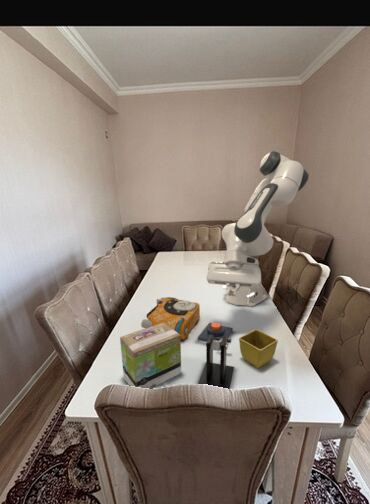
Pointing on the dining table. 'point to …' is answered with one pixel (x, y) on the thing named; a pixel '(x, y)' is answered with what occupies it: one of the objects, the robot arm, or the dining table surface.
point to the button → (215, 326)
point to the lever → (218, 343)
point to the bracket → (216, 367)
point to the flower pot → (257, 347)
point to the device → (174, 315)
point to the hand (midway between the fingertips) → (231, 295)
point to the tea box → (151, 356)
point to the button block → (215, 333)
